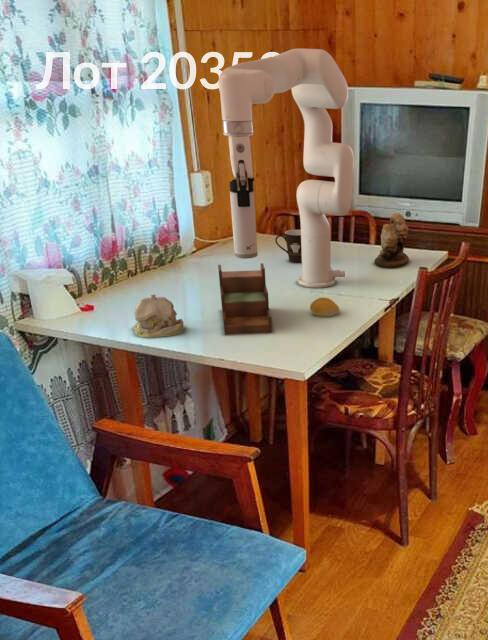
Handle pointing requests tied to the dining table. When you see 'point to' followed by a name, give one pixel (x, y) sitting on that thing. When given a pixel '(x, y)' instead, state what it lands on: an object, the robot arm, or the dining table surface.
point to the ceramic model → (156, 318)
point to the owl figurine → (393, 243)
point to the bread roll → (324, 307)
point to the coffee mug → (292, 245)
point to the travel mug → (243, 223)
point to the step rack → (244, 301)
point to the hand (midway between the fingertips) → (243, 203)
